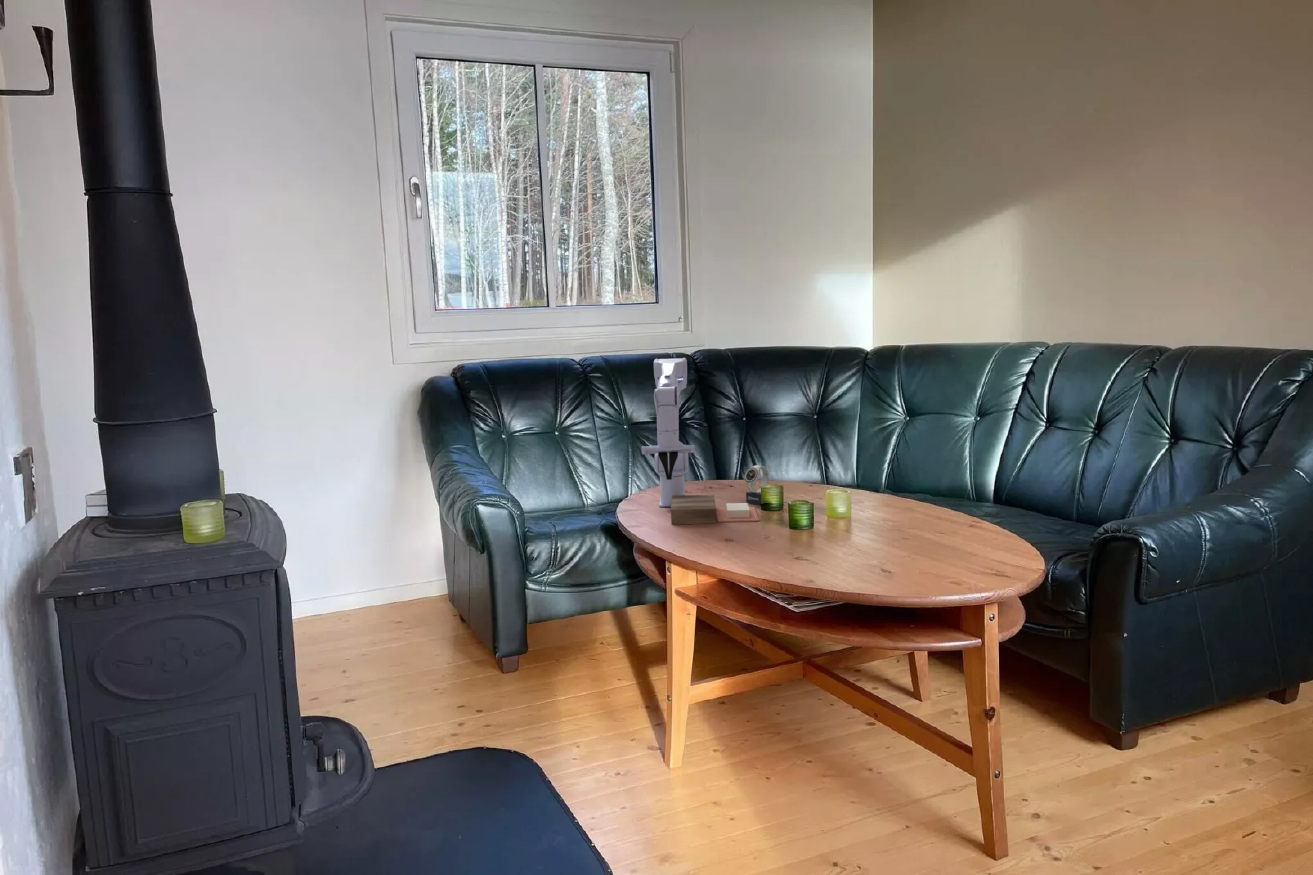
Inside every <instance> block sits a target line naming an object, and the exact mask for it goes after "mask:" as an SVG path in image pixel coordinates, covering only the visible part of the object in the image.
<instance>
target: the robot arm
mask: <svg viewBox="0 0 1313 875" xmlns="http://www.w3.org/2000/svg"><path fill="white" fill-rule="evenodd" d="M653 376H654V380H655V386H656V388H655V389H654V391H653V392H654V393H653V399H654V406H655V415H656V429H657V430H656V431H657V432H656V436H657V438H656V439H657V440H656V441H657V445H648V446H646V445H644V446H641V455H646V454H647V455H648V454H649V455H650V454H653V455H654V470H655V473H656V474H658V476H659V488H660V489H659V491H660V492H659V493H660V499H659V502H658V503H659V504H658V507H661V508H662V507H663V508H664V507H671V503H672V496H681V495H686V490H685V486H686V484H685V474H686V473H688V472H689V471H690V469H689V466H690V465H689V464H690V463H689V453H690V454H694V453H696V452H695V451H696V449H695V447H696V446H695V445H694V444H684V443H683V442H682V441H680V440H679V439H680V437H679V436H680V435H679V434H680V433H679V432H680V430H679V428H680V427H679V422H680V420H679V419H680V418H679V415H680V414H679V412H680V411H679V410H680V408H679V403H680V395H681V392H682V391H683V390H684V389H686V388H687V384H688V360H687V358H686V357H683V358H681V357H680V358H659V359H658V358H655V359H654V361H653Z"/></svg>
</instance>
